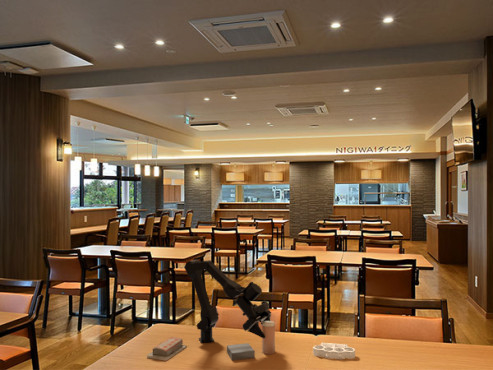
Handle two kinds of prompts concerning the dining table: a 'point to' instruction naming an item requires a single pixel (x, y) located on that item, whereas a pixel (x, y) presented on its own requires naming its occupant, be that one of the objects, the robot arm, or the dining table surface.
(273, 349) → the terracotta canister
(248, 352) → the riser block
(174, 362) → the dining table surface
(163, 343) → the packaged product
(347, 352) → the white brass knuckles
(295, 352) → the dining table surface
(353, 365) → the dining table surface
